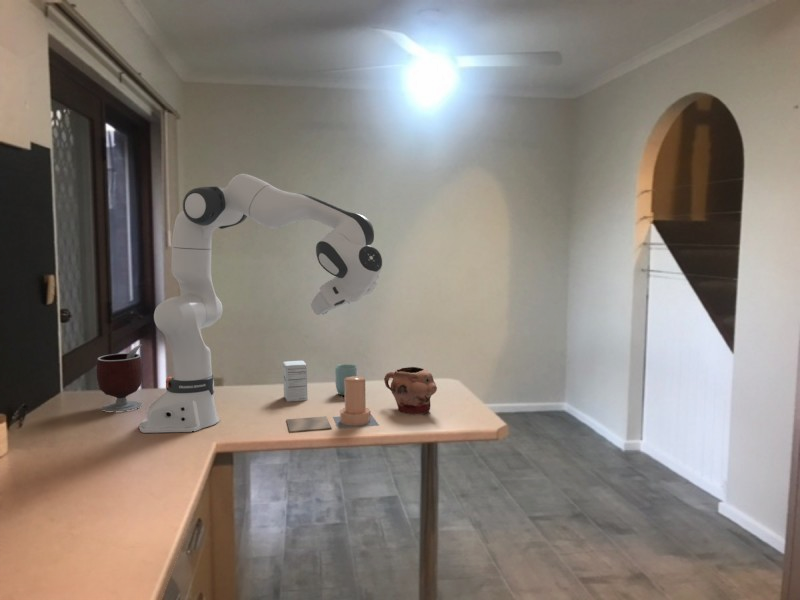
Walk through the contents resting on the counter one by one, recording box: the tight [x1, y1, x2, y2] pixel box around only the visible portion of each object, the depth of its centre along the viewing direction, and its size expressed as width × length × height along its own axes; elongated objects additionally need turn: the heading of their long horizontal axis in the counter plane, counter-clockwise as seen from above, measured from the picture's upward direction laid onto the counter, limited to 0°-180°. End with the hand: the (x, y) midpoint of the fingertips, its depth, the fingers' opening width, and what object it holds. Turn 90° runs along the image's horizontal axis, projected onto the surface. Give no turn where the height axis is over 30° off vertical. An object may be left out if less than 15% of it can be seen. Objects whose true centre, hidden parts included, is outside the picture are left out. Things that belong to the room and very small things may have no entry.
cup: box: [334, 363, 358, 396], centre depth 223 cm, size 8×8×10 cm
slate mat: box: [332, 414, 380, 430], centre depth 189 cm, size 12×12×1 cm
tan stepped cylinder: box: [339, 375, 372, 426], centre depth 189 cm, size 9×9×13 cm
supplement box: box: [282, 360, 309, 402], centre depth 218 cm, size 7×7×13 cm
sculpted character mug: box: [384, 366, 438, 415], centre depth 201 cm, size 20×12×14 cm, turn 59°
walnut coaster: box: [286, 415, 332, 433], centre depth 186 cm, size 12×12×1 cm
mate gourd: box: [96, 344, 144, 412], centre depth 208 cm, size 16×14×20 cm
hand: (336, 306), depth 188 cm, fingers open, 8 cm apart
